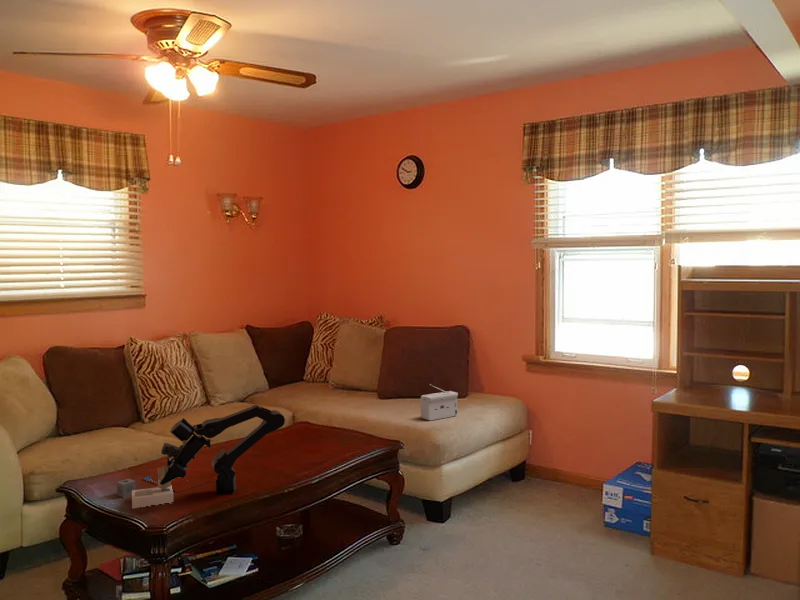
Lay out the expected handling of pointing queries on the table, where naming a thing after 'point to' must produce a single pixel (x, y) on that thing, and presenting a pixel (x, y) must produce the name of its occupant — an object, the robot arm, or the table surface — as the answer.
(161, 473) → the maple peg
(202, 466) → the table surface
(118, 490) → the dice cube
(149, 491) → the keyhole block
